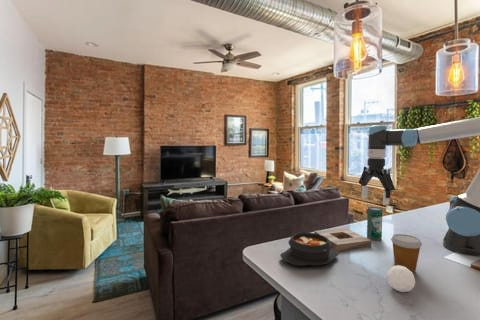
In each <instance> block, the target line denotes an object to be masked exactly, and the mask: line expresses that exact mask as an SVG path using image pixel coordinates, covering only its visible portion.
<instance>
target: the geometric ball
mask: <svg viewBox="0 0 480 320" xmlns="http://www.w3.org/2000/svg"><path fill="white" fill-rule="evenodd" d="M386 280H387V282H388V285H389V286H391V287H392V288H393V289H394V290H395V291H398V292H400V293H405V292H411V291H412V290H413V289H414V287H415V285H416V278H415V275H414V273H412V272H411V271H410V270H408V269H407V268H406V267H404V266H398V265H396V266H395V265H394V266H391V267H390V268H388V269H387V272H386Z"/></svg>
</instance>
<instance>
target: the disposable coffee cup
mask: <svg viewBox="0 0 480 320" xmlns="http://www.w3.org/2000/svg"><path fill="white" fill-rule="evenodd" d="M390 240H391V242H392V250H393V259H394V260H393V261H394V266H396V265H398V266H404V267H406V268H407V269H408V270H410V271H411V272H412V273H413V274H415V273H416V271H417V270H416V269H417V265H418V262H419V255H420V250H421V247H422V245H423V244H422V242H421V239H420V238H419V237H416V236H413V235H410V234H404V233H394V234H393V235H392V237H391V238H390Z"/></svg>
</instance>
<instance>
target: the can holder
mask: <svg viewBox="0 0 480 320" xmlns="http://www.w3.org/2000/svg"><path fill="white" fill-rule="evenodd" d="M313 233H315V234H319V235H322V236H325V237H326V238H328V239H329V242H330V244H331V245H332V249H334V250H336V251H337V252H343V251H348V250H351V251H352V250H358V249H363V248H364V249H365V248H371V247H372V240H370V239H368V238H367V236H363V235H361V234H359V233H357V232H355V231H353V230H351V229H349V228H346V227H340V228H331V229H322V230H314V232H313Z"/></svg>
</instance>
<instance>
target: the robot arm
mask: <svg viewBox="0 0 480 320" xmlns="http://www.w3.org/2000/svg"><path fill="white" fill-rule="evenodd" d="M367 136H368V145H367V147H368V150H367V157H368V158H367V166H363V170H362V173H361V175H360V178H359V179H358V184H360V186H361V199H362V200H363V199H368V192H369V191H368V189H369V187H368V184H369V182H370V181H371V180H372V178H376V179H378V180H379V182H380V183H381V186H382V188H383V189H384V190H383V195H382V205H383V206H390V198H391V192H392V191H395V190H396V189H395V188H396V187H395V185H394V182H393V179H392V177H391V170H390V169H388V168H386V169H384V168H385V166H386V156H387V155H386V153H387V150H386V149H387V146H389V147H391V146H392V147H393V146H395V147H415V146H416V145H421V144H427V143H434V142H441V141H447V140H456V139H462V138H463V139H464V138H468V137H476V136H480V116H478V117H472V118H466V119H460V120H455V121H449V122H445V123H439V124H434V125H429V126H424V127H418V128H401V129H399V128H398V129H397V128H396V129H388V127H387V125H381V124H380V125H371V126H370V127H369V129H368V135H367ZM448 202H449V209H448V211H447V213H446V214H445V222H446V224H447V226H448V229H447V231H446V233H445V235H444V237H443V239H442V245H443V247H445V248H446V249H448V250H451V251H454V252H456V253H460V254H464V255H469V256H470V255H471V256H480V168H479V169H478V170H477V172H476V174H475V176H474V177H473V178H472V180H471V183H470V184H469V186H468V187H467V189H466V190H465V192H464V193H462V194H458V195H453V196H450V199H449V201H448Z"/></svg>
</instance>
